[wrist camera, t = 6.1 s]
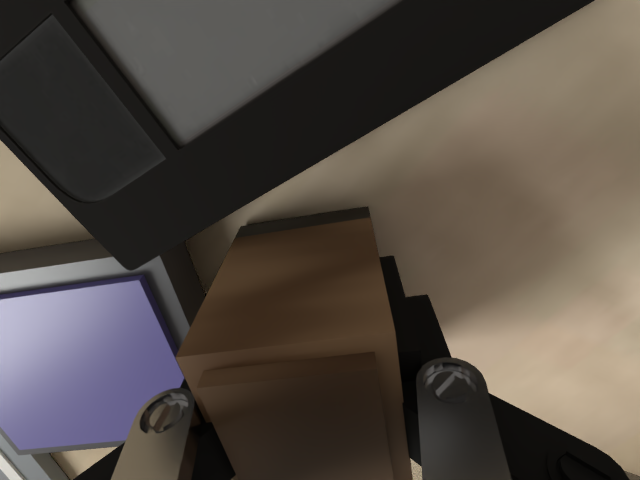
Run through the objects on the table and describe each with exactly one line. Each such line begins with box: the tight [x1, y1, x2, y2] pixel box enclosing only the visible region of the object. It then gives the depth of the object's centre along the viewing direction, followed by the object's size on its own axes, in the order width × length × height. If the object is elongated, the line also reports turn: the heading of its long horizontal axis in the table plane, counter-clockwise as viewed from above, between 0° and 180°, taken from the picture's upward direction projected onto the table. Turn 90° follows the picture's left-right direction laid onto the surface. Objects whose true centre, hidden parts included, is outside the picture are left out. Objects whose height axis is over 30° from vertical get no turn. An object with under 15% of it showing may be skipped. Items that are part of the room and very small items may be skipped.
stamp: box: [175, 207, 413, 480], centre depth 10 cm, size 4×6×6 cm, turn 10°
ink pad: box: [0, 239, 205, 455], centre depth 14 cm, size 9×8×2 cm
